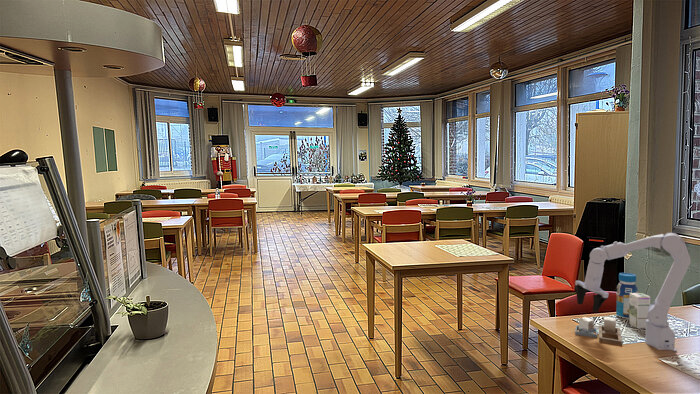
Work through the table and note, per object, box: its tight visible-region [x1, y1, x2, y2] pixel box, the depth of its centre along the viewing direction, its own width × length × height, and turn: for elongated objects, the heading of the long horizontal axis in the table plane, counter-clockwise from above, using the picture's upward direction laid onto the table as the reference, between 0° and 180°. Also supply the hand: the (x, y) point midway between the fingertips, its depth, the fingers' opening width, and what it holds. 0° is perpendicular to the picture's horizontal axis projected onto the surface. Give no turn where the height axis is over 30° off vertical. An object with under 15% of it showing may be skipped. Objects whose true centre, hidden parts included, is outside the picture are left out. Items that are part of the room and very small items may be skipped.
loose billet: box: [578, 316, 595, 334], centre depth 178 cm, size 4×4×6 cm
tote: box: [574, 325, 598, 339], centre depth 178 cm, size 8×8×2 cm
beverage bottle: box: [615, 272, 639, 320], centre depth 199 cm, size 8×8×20 cm
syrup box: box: [628, 292, 651, 329], centre depth 186 cm, size 6×6×14 cm
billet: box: [603, 316, 617, 333], centre depth 177 cm, size 4×4×6 cm
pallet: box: [598, 324, 623, 346], centre depth 174 cm, size 16×8×2 cm, turn 150°
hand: (587, 307), depth 180 cm, fingers open, 7 cm apart
